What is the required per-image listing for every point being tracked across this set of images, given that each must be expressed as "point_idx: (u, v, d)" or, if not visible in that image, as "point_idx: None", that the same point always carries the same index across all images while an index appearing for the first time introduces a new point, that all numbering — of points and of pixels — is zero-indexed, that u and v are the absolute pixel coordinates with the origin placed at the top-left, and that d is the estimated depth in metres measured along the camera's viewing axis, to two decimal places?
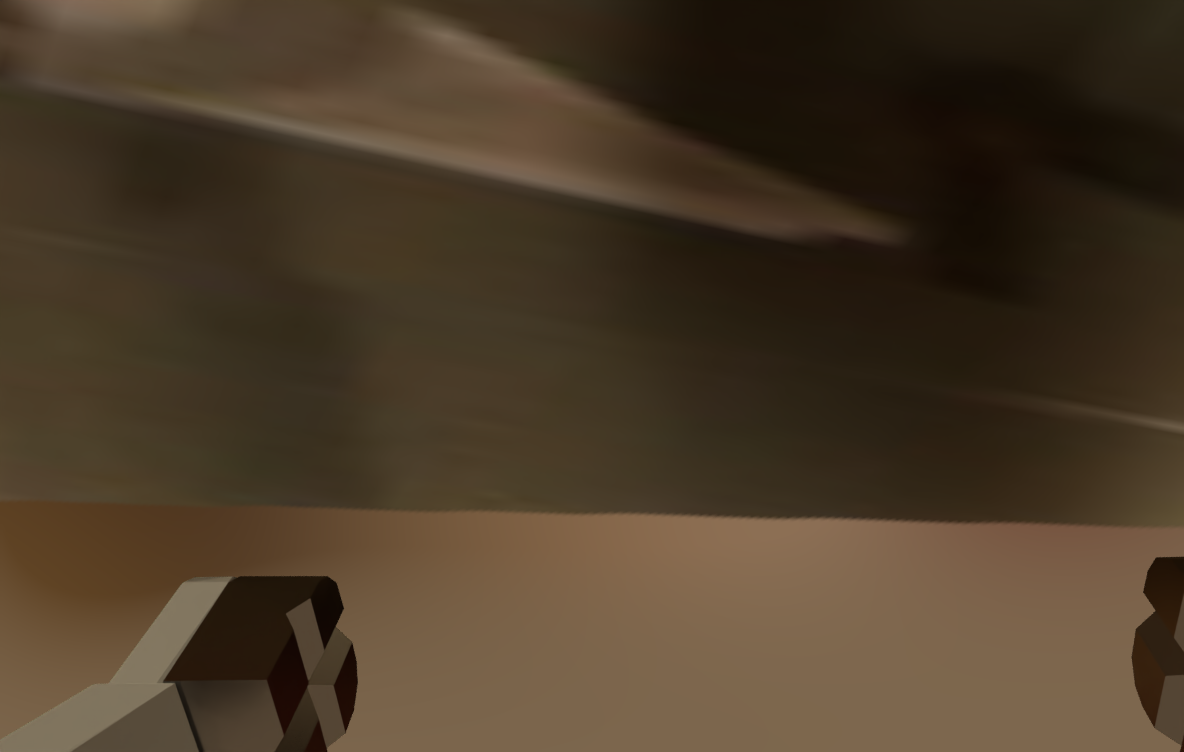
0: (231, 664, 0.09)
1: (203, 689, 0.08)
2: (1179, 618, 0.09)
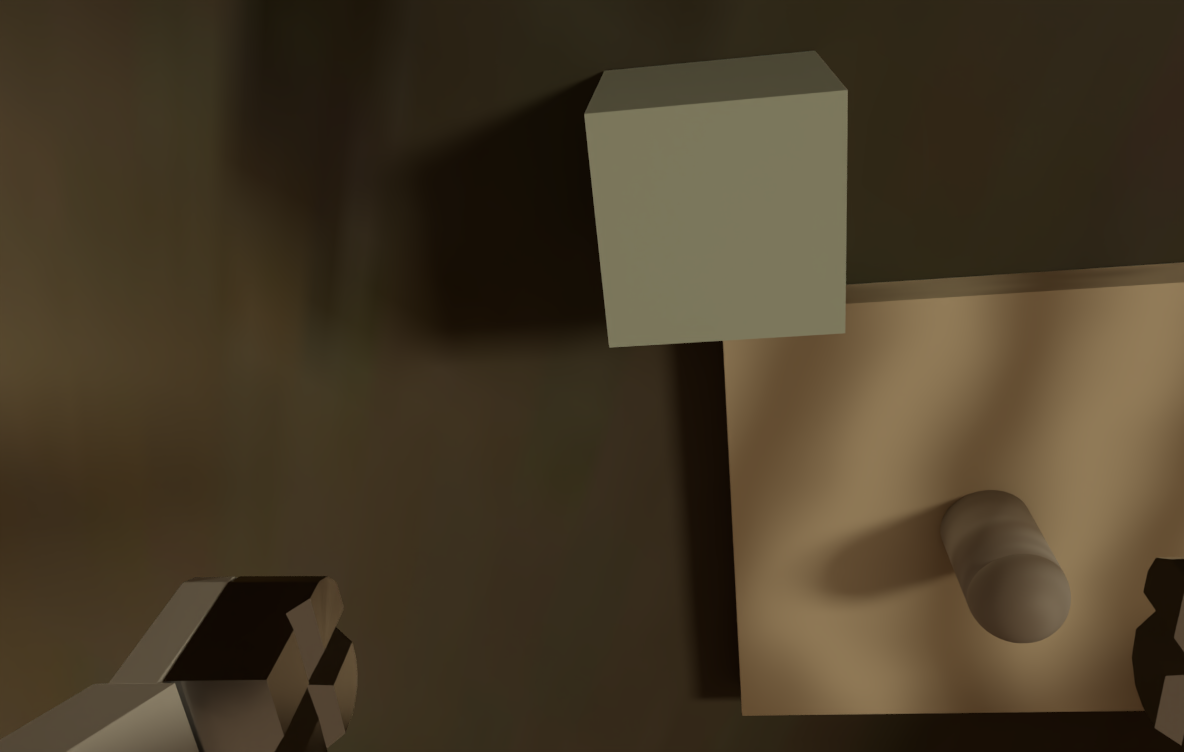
0: (231, 664, 0.09)
1: (203, 689, 0.08)
2: (1179, 618, 0.09)
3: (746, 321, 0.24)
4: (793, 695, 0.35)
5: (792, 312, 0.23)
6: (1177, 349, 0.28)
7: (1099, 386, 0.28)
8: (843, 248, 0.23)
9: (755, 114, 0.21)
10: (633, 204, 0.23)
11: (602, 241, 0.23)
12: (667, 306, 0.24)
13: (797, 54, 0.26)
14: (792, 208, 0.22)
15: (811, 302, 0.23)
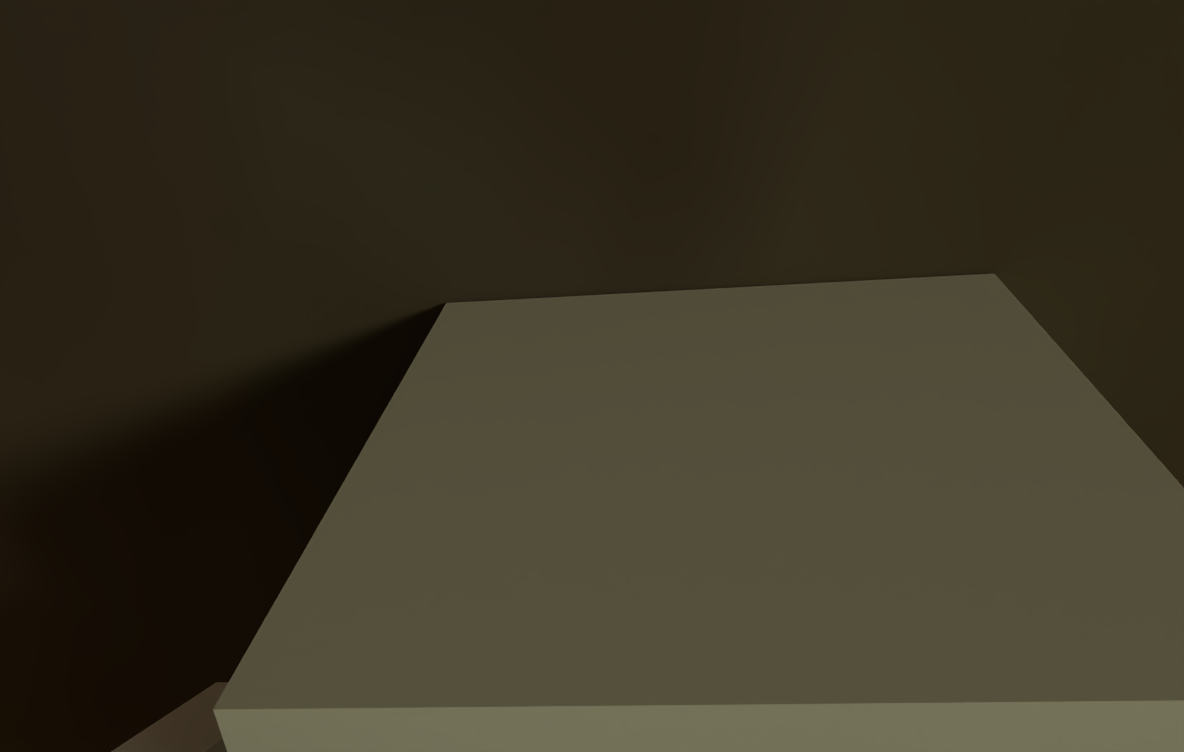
0: None
1: None
2: None
3: None
4: None
5: None
6: None
7: None
8: None
9: None
10: None
11: None
12: None
13: (953, 290, 0.10)
14: None
15: None
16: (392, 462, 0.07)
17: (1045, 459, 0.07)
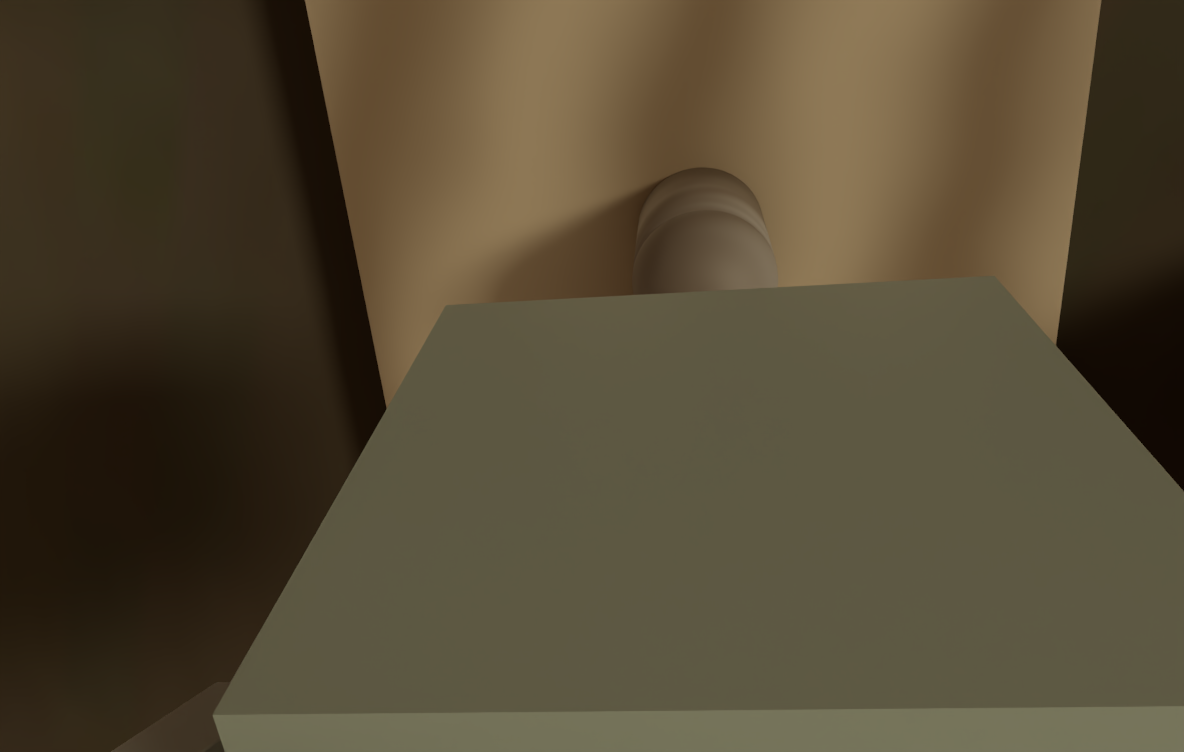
0: None
1: None
2: None
3: None
4: None
5: None
6: None
7: None
8: None
9: None
10: None
11: None
12: None
13: (953, 292, 0.10)
14: None
15: None
16: (392, 465, 0.07)
17: (1045, 463, 0.07)
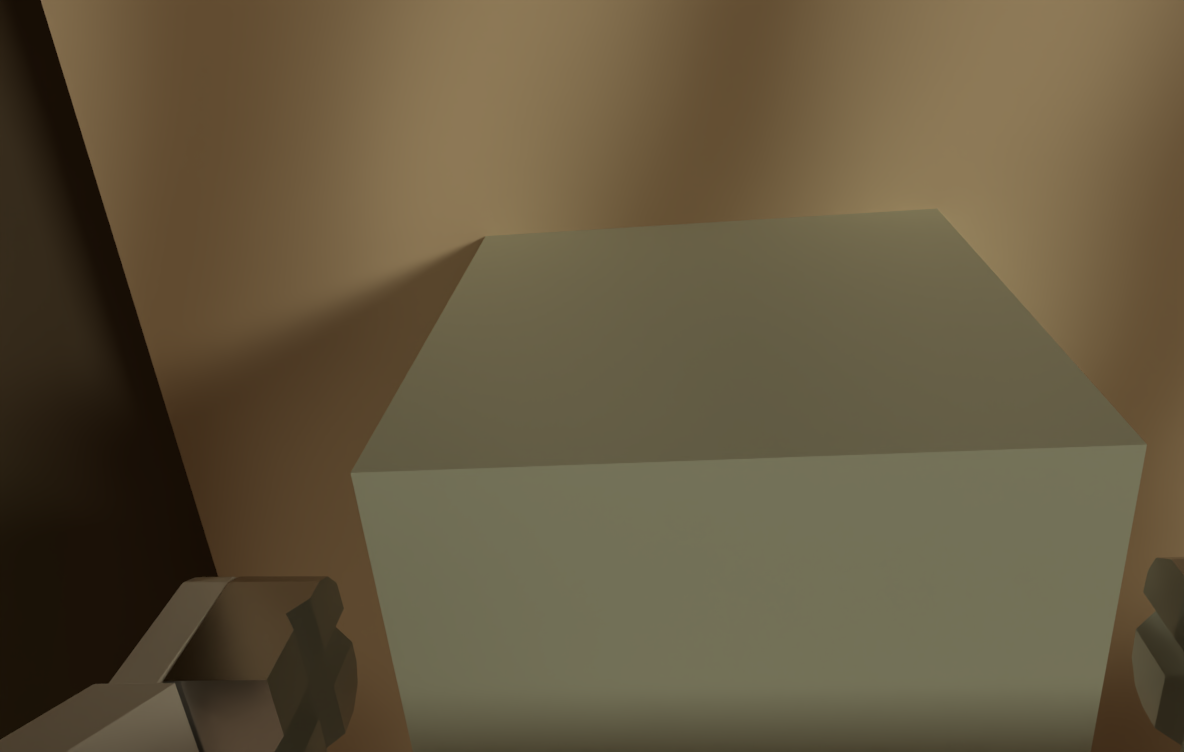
0: (231, 664, 0.09)
1: (203, 689, 0.08)
2: (1179, 618, 0.09)
3: None
4: None
5: None
6: None
7: (944, 47, 0.11)
8: None
9: (856, 495, 0.07)
10: (504, 687, 0.08)
11: None
12: None
13: (902, 220, 0.12)
14: (943, 718, 0.08)
15: None
16: (457, 337, 0.10)
17: (955, 324, 0.09)
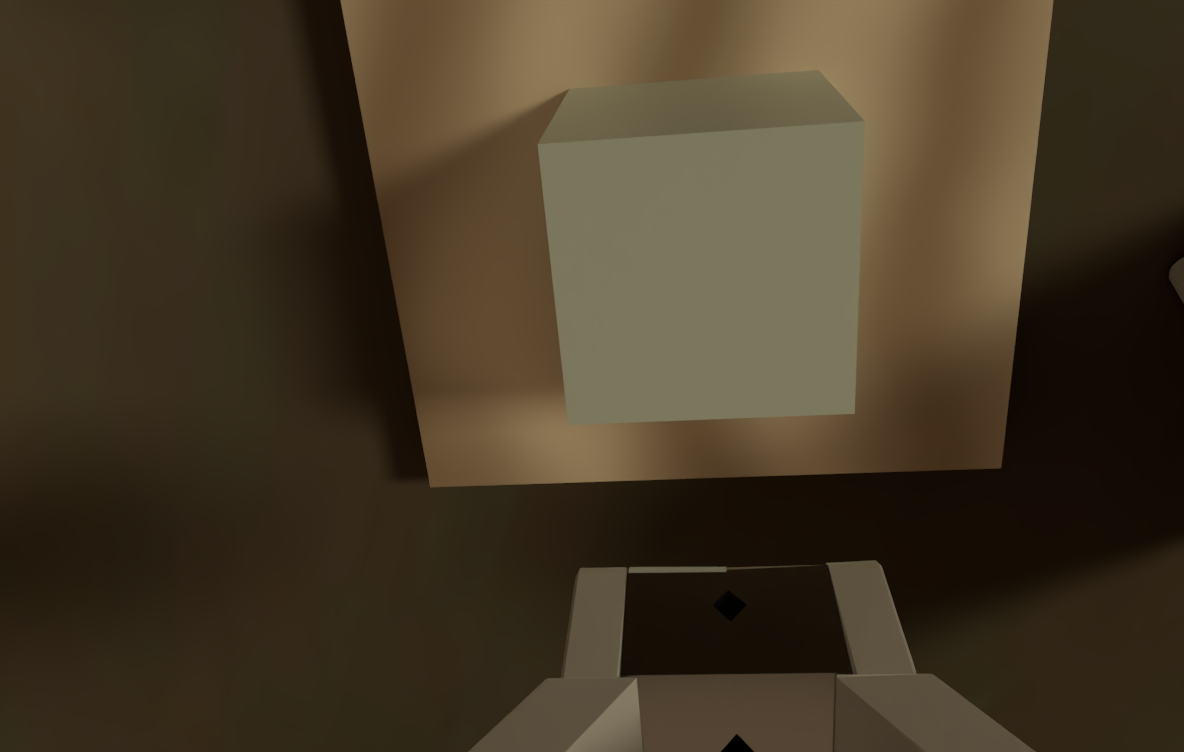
0: (687, 658, 0.08)
1: (662, 684, 0.08)
2: None
3: (735, 397, 0.19)
4: (488, 456, 0.28)
5: (791, 388, 0.19)
6: None
7: None
8: (854, 313, 0.18)
9: (750, 149, 0.17)
10: (598, 255, 0.18)
11: (560, 299, 0.19)
12: (639, 377, 0.19)
13: (798, 73, 0.22)
14: (793, 264, 0.18)
15: (814, 376, 0.19)
16: (568, 115, 0.20)
17: (806, 100, 0.19)
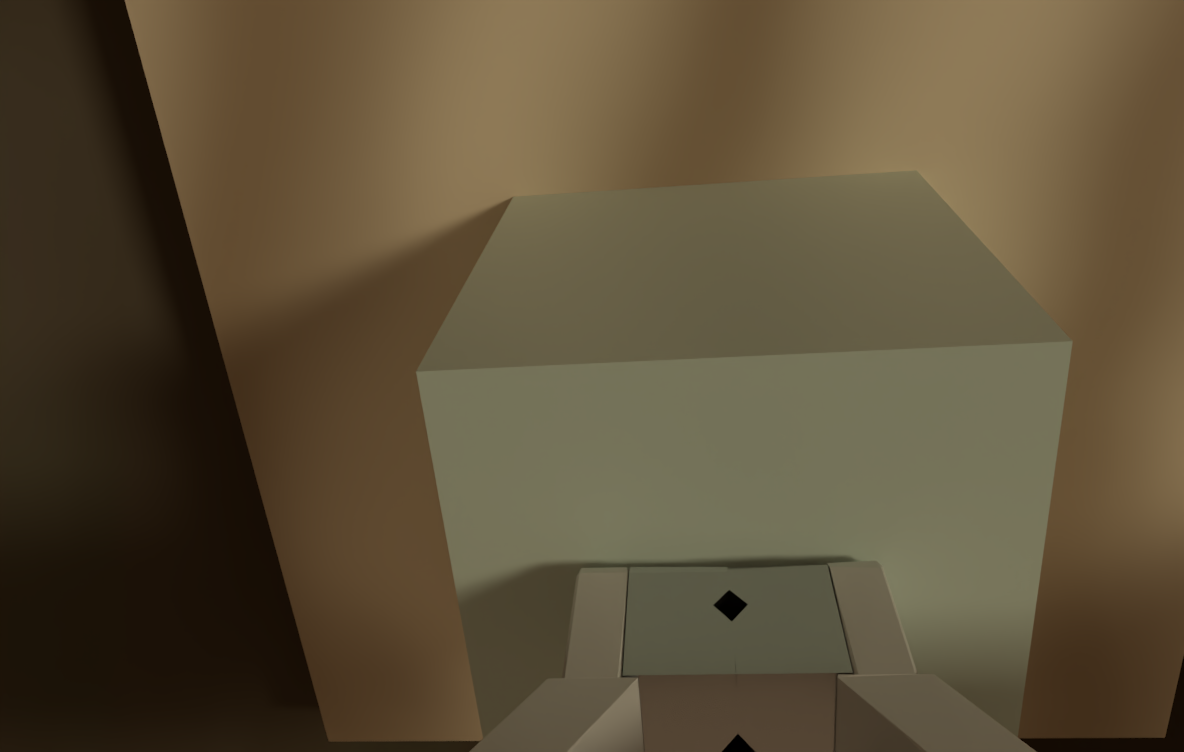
0: (687, 657, 0.08)
1: (662, 684, 0.08)
2: None
3: None
4: (409, 704, 0.19)
5: None
6: None
7: (921, 25, 0.13)
8: (1021, 666, 0.10)
9: (835, 387, 0.09)
10: (540, 561, 0.10)
11: (473, 627, 0.10)
12: None
13: (885, 179, 0.13)
14: (910, 584, 0.10)
15: None
16: (495, 274, 0.11)
17: (924, 258, 0.10)
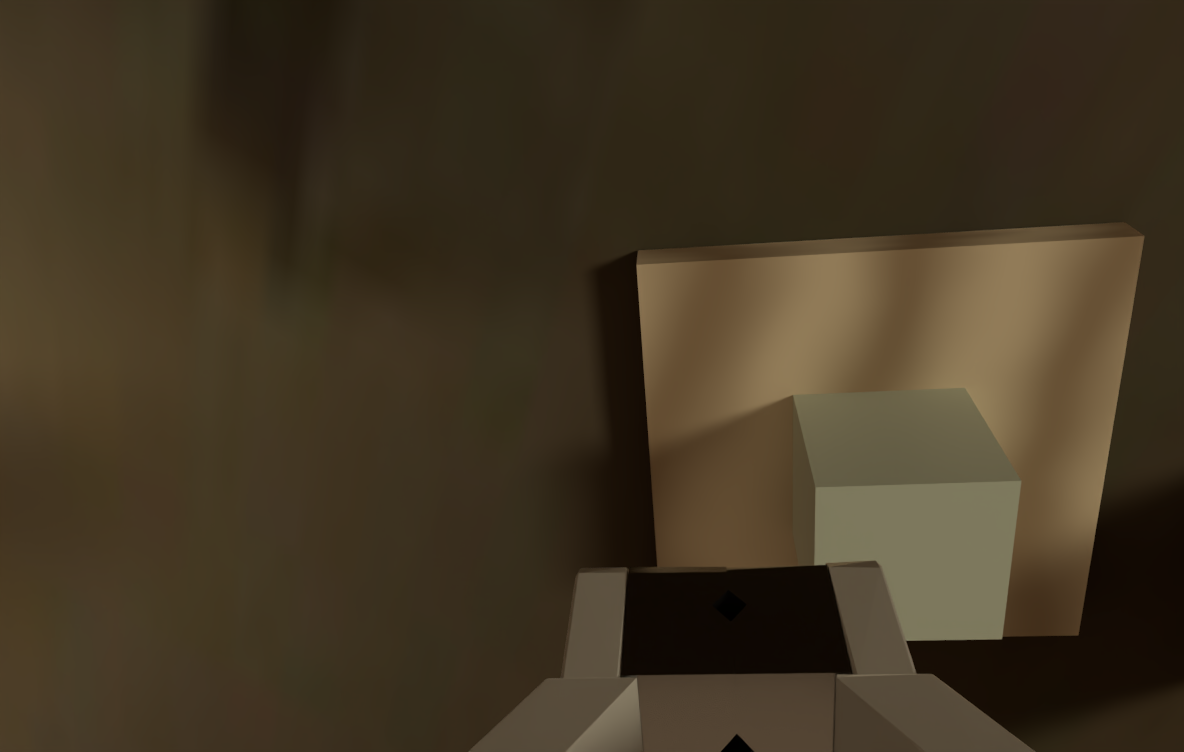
0: (686, 657, 0.08)
1: (661, 684, 0.08)
2: None
3: (924, 628, 0.30)
4: None
5: (962, 623, 0.30)
6: (1033, 302, 0.32)
7: (968, 335, 0.32)
8: (1006, 583, 0.29)
9: (948, 493, 0.28)
10: (845, 547, 0.29)
11: None
12: None
13: (952, 393, 0.33)
14: (970, 555, 0.29)
15: (977, 617, 0.30)
16: (814, 443, 0.31)
17: (973, 442, 0.30)
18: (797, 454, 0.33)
